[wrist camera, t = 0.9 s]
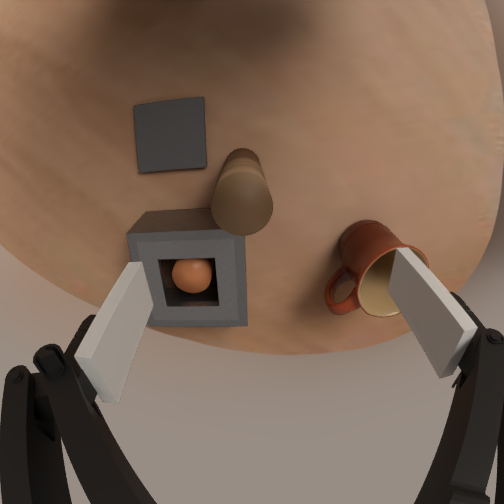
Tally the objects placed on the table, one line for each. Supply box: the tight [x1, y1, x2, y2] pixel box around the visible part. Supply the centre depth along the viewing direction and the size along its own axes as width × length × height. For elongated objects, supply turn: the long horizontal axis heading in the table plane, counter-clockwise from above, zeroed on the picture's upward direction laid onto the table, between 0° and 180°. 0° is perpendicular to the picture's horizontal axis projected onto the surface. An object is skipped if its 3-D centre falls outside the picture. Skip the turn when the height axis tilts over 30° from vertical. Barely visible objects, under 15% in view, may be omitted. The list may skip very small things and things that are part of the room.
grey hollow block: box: [126, 208, 248, 327], centre depth 34 cm, size 12×12×7 cm
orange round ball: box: [172, 258, 213, 293], centre depth 34 cm, size 4×4×3 cm
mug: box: [324, 220, 429, 317], centre depth 33 cm, size 12×9×10 cm
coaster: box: [134, 97, 207, 173], centre depth 30 cm, size 8×8×1 cm
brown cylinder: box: [211, 148, 273, 236], centre depth 25 cm, size 4×4×16 cm
